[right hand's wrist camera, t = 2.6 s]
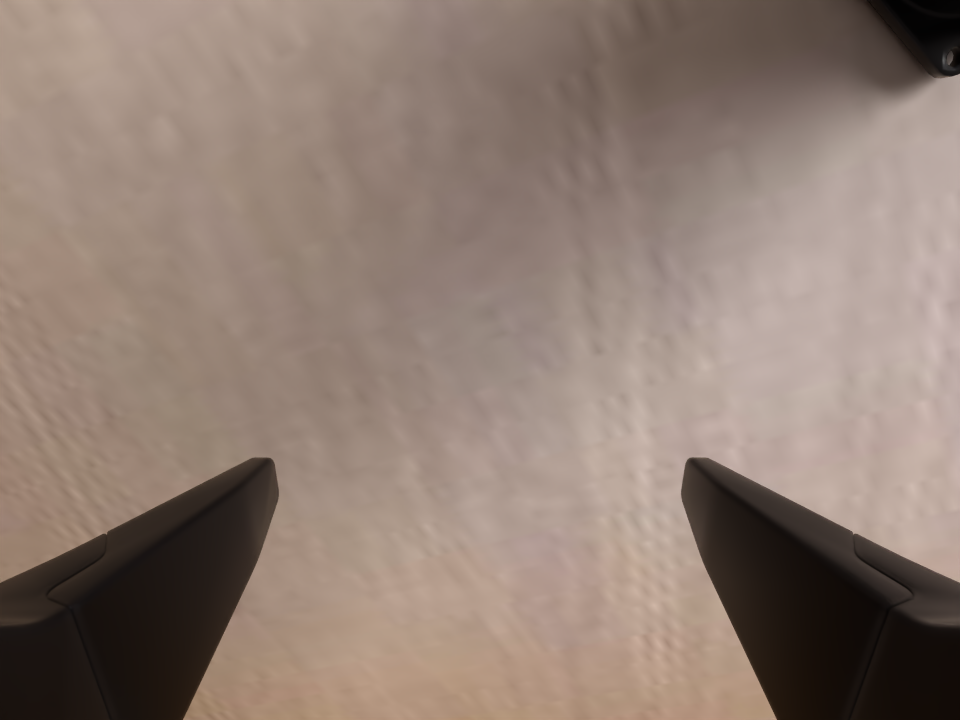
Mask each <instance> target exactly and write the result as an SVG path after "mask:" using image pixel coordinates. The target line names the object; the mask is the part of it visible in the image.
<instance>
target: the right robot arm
mask: <svg viewBox="0 0 960 720" xmlns="http://www.w3.org/2000/svg"><path fill="white" fill-rule="evenodd" d="M868 1H869V2H870V4H871V5H872V6H873V7H874V8H875V10H876V11H877V12H878V13H879V14H880V16H881V17H882V18H883V19H884V20H885V22H886V23H887V24H888V25H889V26H890V28H891V29H892V30H893V31H894V32H895V34H896V35H897V36H898V37H899V38H900V40H901V41H902V42H903V43H904V44H905V46H906V47H907V48H908V49H909V50H910V51H911V53H912V54H913V55H914V56H915V57H916V59H917V60H918V61H919V62H920V63H921V65H922V66H923V67H924V68H925V69H926V71H927V72H928V73H929V74H930V75H931V76H933V77H934V78H945V77H951V76H955V75H958V74H960V0H868ZM950 50H951V51H952V52H953V55H954V56H953V61H952V62H951V64H950V65H948V64H947V61H946V58H947V54H948V53H949V51H950ZM278 497H279V489H278V483H277V476H276V470H275V464H274V462H273V460H272V459H271V458H251V459H249V460H247V461H245V462H243V463H241V464H239V465H237V466H235V467H233V468H231V469H230V470H228V471H226V472H224V473H222V474H220V475H218V476H216V477H214V478H212V479H210V480H208V481H206V482H204V483H202V484H200V485H198V486H196V487H194V488H192V489H190V490H188V491H186V492H184V493H183V494H181V495H179V496H177V497H175V498H173V499H171V500H169V501H167V502H165V503H163V504H161V505H159V506H157V507H155V508H153V509H151V510H149V511H147V512H145V513H143V514H141V515H139V516H137V517H136V518H134V519H132V520H130V521H128V522H126V523H124V524H122V525H120V526H118V527H116V528H114V529H112V530H110V531H108V532H107V535H106V534H102V535H100V536H98V537H96V538H94V539H92V540H90V541H88V542H86V543H84V544H82V545H80V546H78V547H76V548H74V549H72V550H70V551H68V552H66V553H64V554H62V555H60V556H58V557H56V558H54V559H52V560H49V561H47V562H45V563H43V564H41V565H39V566H36V567H34V568H32V569H30V570H28V571H26V572H23V573H21V574H19V575H17V576H14V577H12V578H10V579H8V580H6V581H3V582H1V583H0V720H183V718H184V716H185V714H186V712H187V710H188V708H189V706H190V704H191V701H192V699H193V697H194V695H195V693H196V691H197V689H198V687H199V685H200V682H201V680H202V678H203V676H204V674H205V672H206V670H207V668H208V665H209V663H210V661H211V659H212V657H213V655H214V653H215V651H216V648H217V646H218V644H219V642H220V640H221V638H222V636H223V634H224V631H225V629H226V627H227V625H228V623H229V621H230V619H231V617H232V615H233V612H234V610H235V608H236V606H237V604H238V602H239V600H240V598H241V595H242V593H243V591H244V589H245V587H246V585H247V583H248V581H249V578H250V576H251V574H252V572H253V570H254V568H255V565H256V563H257V561H258V558H259V555H260V553H261V550H262V547H263V544H264V541H265V538H266V535H267V532H268V529H269V526H270V523H271V520H272V517H273V514H274V511H275V508H276V505H277V502H278ZM681 497H682V502H683V505H684V508H685V511H686V514H687V517H688V520H689V523H690V526H691V529H692V532H693V535H694V538H695V541H696V544H697V547H698V550H699V553H700V555H701V558H702V561H703V563H704V565H705V568H706V570H707V572H708V574H709V576H710V578H711V581H712V583H713V585H714V587H715V589H716V591H717V593H718V595H719V598H720V600H721V602H722V604H723V606H724V608H725V610H726V612H727V615H728V617H729V619H730V621H731V623H732V625H733V627H734V629H735V631H736V634H737V636H738V638H739V640H740V642H741V644H742V646H743V648H744V651H745V653H746V655H747V657H748V659H749V661H750V663H751V665H752V668H753V670H754V672H755V674H756V676H757V678H758V680H759V682H760V685H761V687H762V689H763V691H764V693H765V695H766V697H767V699H768V702H769V704H770V706H771V708H772V710H773V712H774V714H775V716H776V718H777V720H960V583H959V582H957V581H954V580H952V579H950V578H948V577H946V576H943V575H941V574H939V573H937V572H934V571H932V570H930V569H928V568H926V567H924V566H921V565H919V564H917V563H915V562H913V561H911V560H908V559H906V558H904V557H902V556H900V555H898V554H896V553H894V552H892V551H890V550H888V549H886V548H884V547H882V546H880V545H878V544H876V543H874V542H872V541H870V540H868V539H866V538H864V537H862V536H860V535H858V534H854V535H853V532H852V531H850V530H848V529H846V528H844V527H842V526H840V525H838V524H836V523H834V522H832V521H830V520H828V519H826V518H824V517H823V516H821V515H819V514H817V513H815V512H813V511H811V510H809V509H807V508H805V507H803V506H801V505H799V504H797V503H795V502H793V501H791V500H789V499H787V498H785V497H783V496H781V495H779V494H777V493H776V492H774V491H772V490H770V489H768V488H766V487H764V486H762V485H760V484H758V483H756V482H754V481H752V480H750V479H748V478H746V477H744V476H742V475H740V474H738V473H736V472H734V471H732V470H730V469H729V468H727V467H725V466H723V465H721V464H719V463H717V462H715V461H713V460H711V459H709V458H689V459H688V460H687V462H686V464H685V470H684V476H683V483H682V489H681Z"/></svg>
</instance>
